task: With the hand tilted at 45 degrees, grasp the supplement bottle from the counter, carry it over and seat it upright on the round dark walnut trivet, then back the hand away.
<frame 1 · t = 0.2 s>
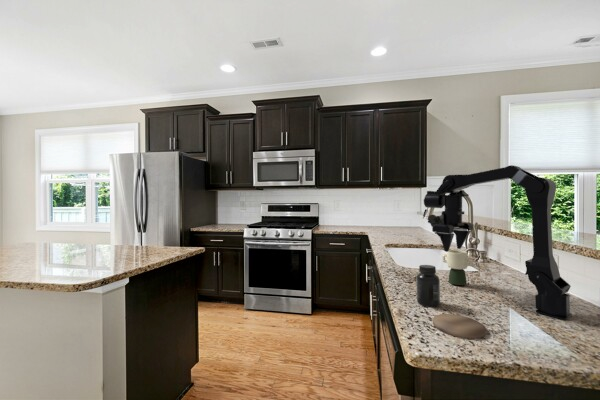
hand: (452, 250, 102), 15 cm above the worktop, tool pointing down, fingers open, 9 cm apart
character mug: (457, 284, 107), on the worktop
supplement bottle: (428, 304, 87), on the worktop
walnut trivet: (458, 327, 71), on the worktop
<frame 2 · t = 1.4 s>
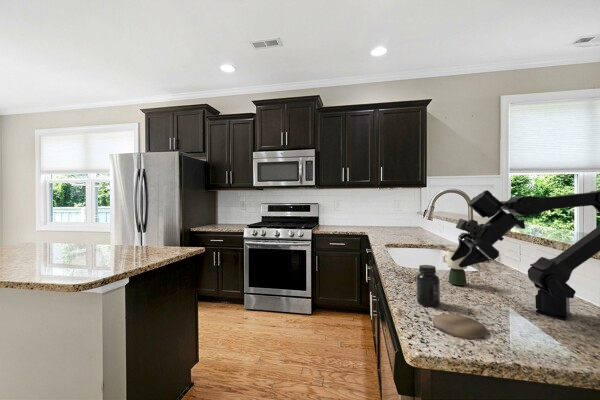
hand: (455, 263, 85), 13 cm above the worktop, tool tilted 45°, fingers open, 9 cm apart
nothing on the worktop moved.
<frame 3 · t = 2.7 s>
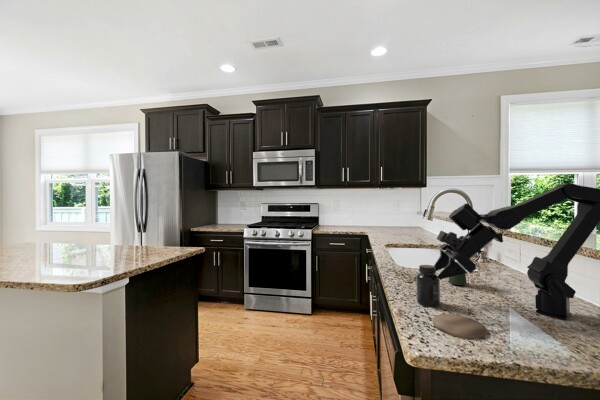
hand: (435, 274, 87), 10 cm above the worktop, tool tilted 45°, fingers open, 9 cm apart
nothing on the worktop moved.
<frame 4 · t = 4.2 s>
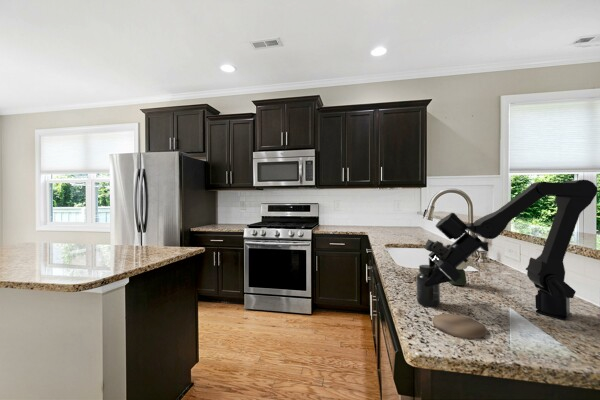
hand: (423, 282, 88), 7 cm above the worktop, tool tilted 45°, fingers closed on supplement bottle, 7 cm apart
supplement bottle: (428, 303, 87), on the worktop, touching gripper
everything else where it was.
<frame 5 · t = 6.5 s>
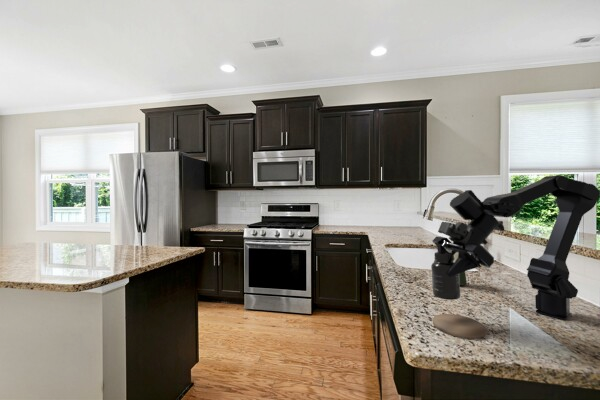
hand: (440, 272, 75), 13 cm above the worktop, tool tilted 45°, fingers closed on supplement bottle, 7 cm apart
supplement bottle: (446, 297, 75), point 6 cm above the worktop, touching gripper
everything else where it was.
when the fingers open (9 cm above the worktop, at t = 8.7 s): supplement bottle stays where it is, resting on walnut trivet.
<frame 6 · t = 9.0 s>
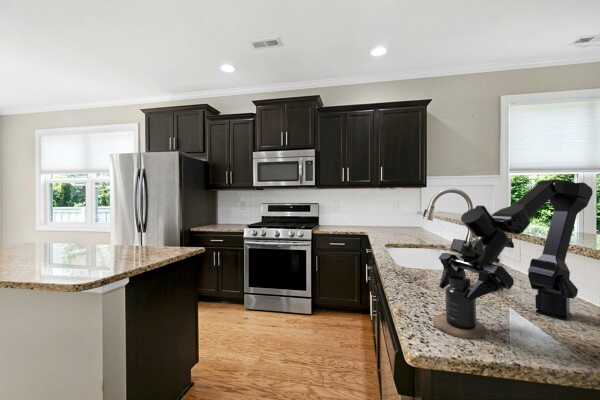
hand: (453, 293, 70), 9 cm above the worktop, tool tilted 45°, fingers open, 9 cm apart
supplement bottle: (460, 325, 70), point 1 cm above the worktop, touching walnut trivet
everything else where it was.
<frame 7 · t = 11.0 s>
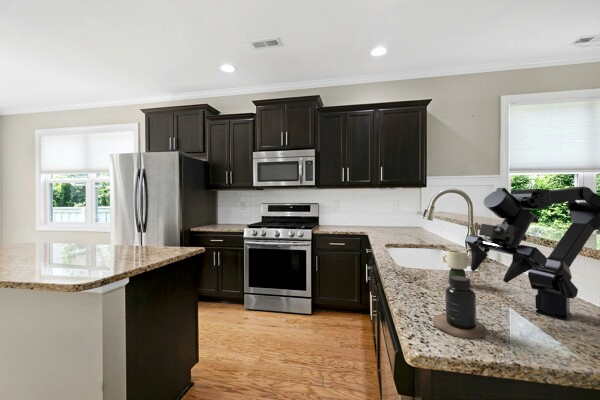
hand: (487, 275, 73), 13 cm above the worktop, tool tilted 35°, fingers open, 9 cm apart
nothing on the worktop moved.
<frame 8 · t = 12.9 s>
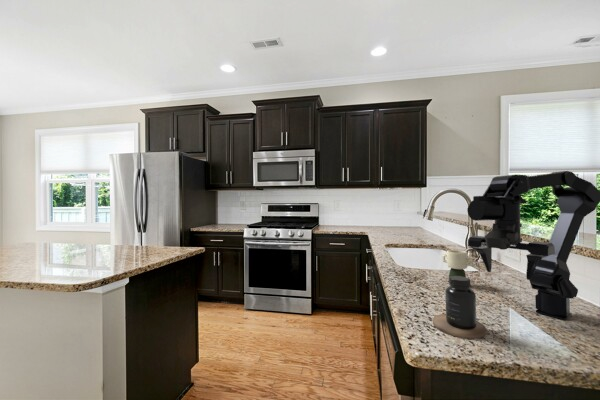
hand: (507, 275, 76), 12 cm above the worktop, tool pointing down, fingers open, 9 cm apart
nothing on the worktop moved.
at the end: supplement bottle 0.6 cm off-centre on the walnut trivet, point 0.8 cm above the walnut trivet's base; supplement bottle tilted 0°; the gripper is holding nothing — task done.
